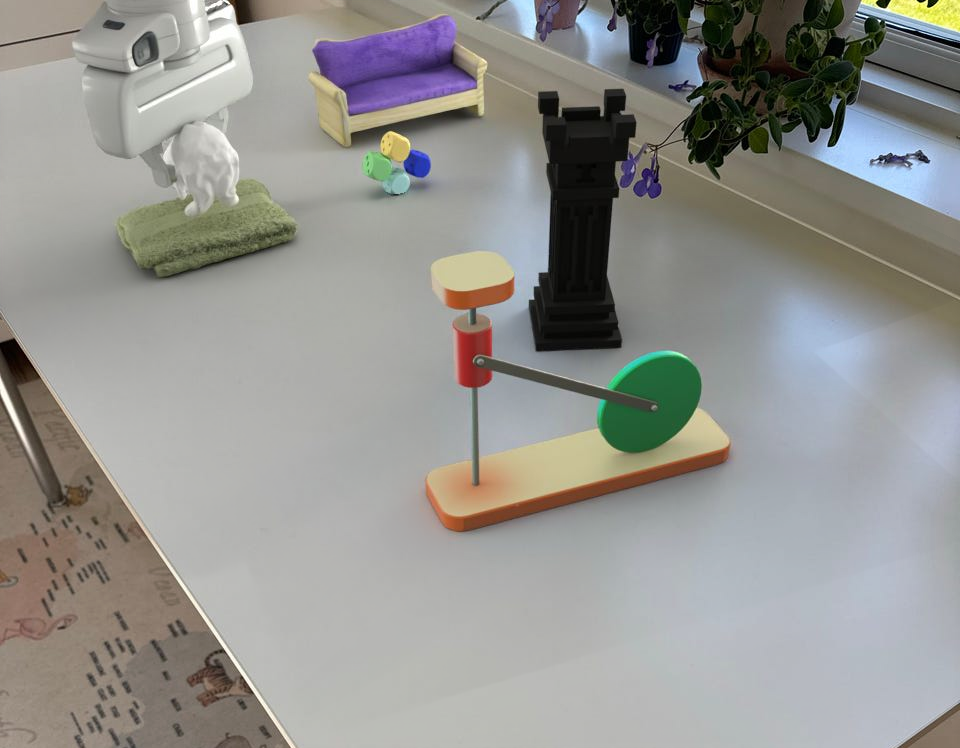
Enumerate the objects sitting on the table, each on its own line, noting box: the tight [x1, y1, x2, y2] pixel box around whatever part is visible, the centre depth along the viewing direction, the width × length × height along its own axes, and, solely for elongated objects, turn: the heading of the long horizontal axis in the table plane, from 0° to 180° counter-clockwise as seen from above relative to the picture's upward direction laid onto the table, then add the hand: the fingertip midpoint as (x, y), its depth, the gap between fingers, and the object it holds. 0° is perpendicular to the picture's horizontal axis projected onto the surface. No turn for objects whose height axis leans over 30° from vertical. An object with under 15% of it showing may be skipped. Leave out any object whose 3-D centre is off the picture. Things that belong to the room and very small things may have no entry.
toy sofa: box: [308, 13, 488, 148], centre depth 131 cm, size 21×9×10 cm, turn 118°
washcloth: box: [114, 177, 299, 278], centre depth 112 cm, size 13×18×3 cm
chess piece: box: [528, 88, 638, 352], centre depth 92 cm, size 8×8×20 cm
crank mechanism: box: [425, 250, 731, 532], centre depth 77 cm, size 25×7×19 cm, turn 111°
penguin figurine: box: [162, 120, 240, 217], centre depth 107 cm, size 6×8×12 cm
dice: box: [361, 130, 432, 195], centre depth 118 cm, size 8×3×6 cm, turn 120°
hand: (191, 169), depth 107 cm, fingers closed on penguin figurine, 6 cm apart
